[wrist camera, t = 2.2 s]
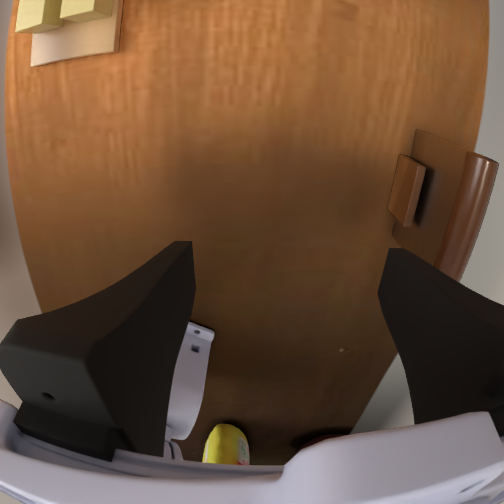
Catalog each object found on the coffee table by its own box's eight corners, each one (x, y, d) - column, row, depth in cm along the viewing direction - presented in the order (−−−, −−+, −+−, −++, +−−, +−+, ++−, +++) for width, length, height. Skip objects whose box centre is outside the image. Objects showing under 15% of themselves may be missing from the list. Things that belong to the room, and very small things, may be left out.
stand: (425, 160, 19) (446, 172, 17) (412, 212, 21) (430, 230, 19) (399, 154, 19) (418, 165, 17) (386, 208, 21) (403, 226, 19)
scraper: (428, 132, 18) (505, 166, 11) (403, 236, 22) (455, 305, 15) (406, 126, 18) (480, 157, 11) (382, 234, 22) (430, 305, 15)
